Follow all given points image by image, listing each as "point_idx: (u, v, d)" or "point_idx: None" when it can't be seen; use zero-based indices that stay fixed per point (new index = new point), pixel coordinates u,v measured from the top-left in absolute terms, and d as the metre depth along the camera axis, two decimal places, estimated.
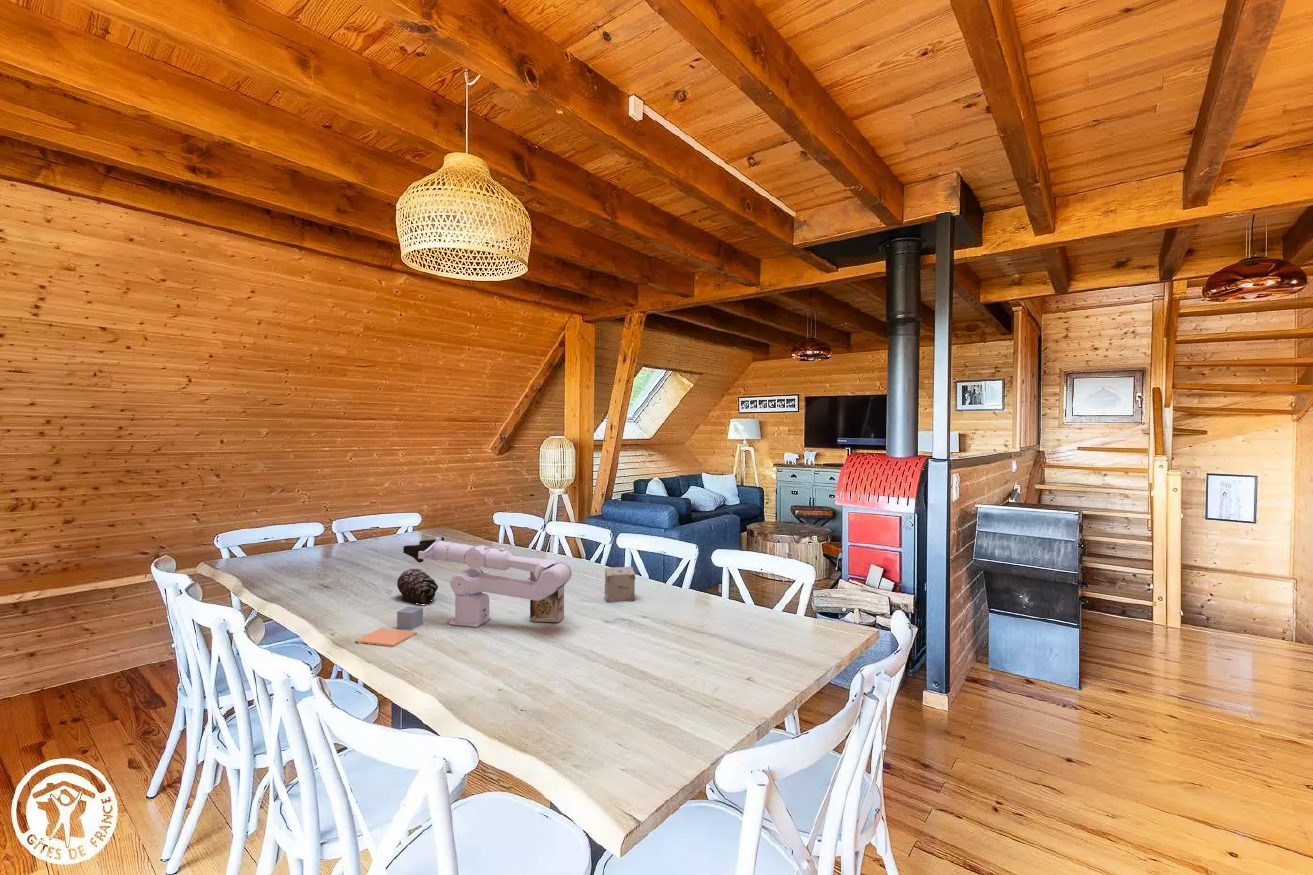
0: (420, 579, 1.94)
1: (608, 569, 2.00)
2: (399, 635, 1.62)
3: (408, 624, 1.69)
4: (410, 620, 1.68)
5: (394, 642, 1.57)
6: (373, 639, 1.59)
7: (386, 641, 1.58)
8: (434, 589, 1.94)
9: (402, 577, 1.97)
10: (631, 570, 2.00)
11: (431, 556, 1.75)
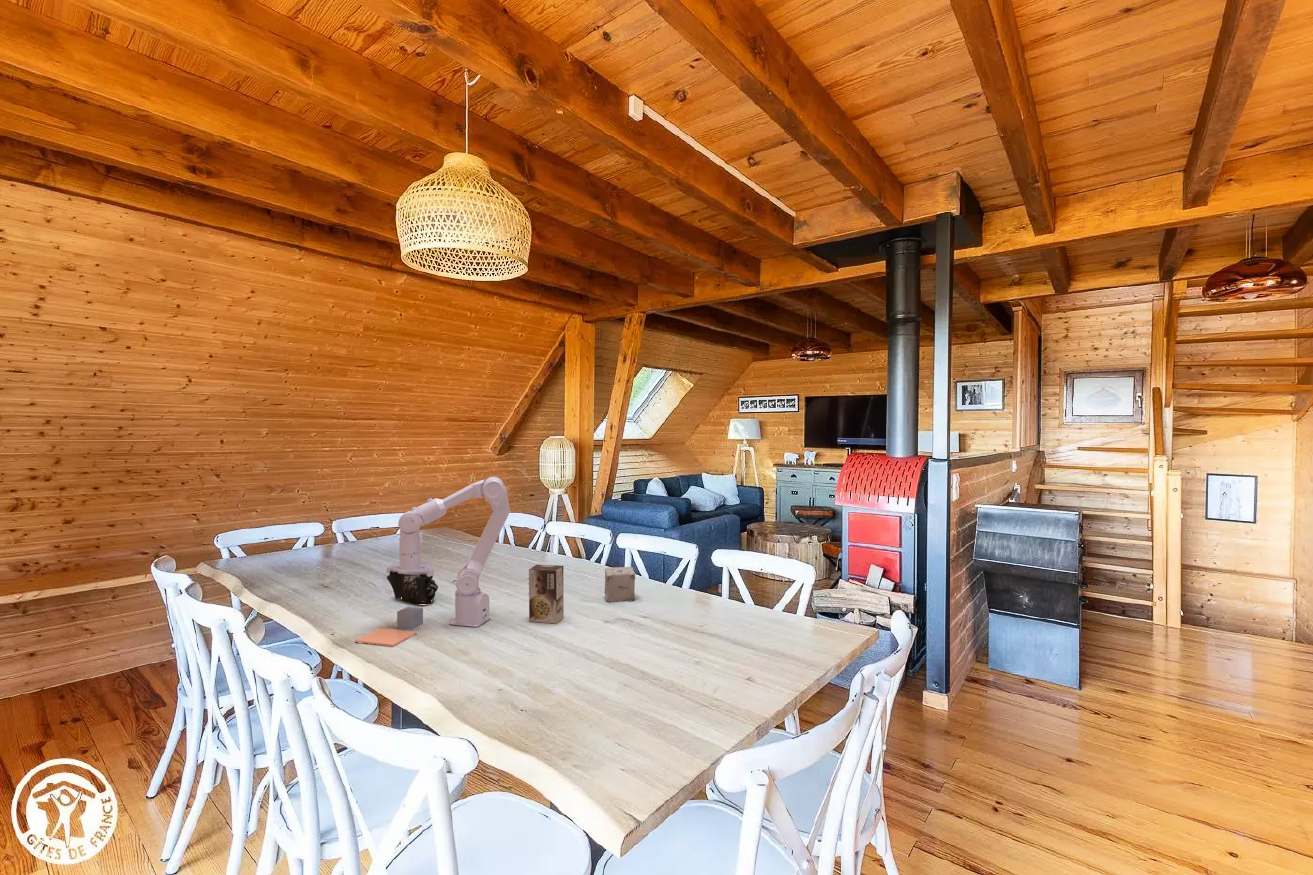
0: None
1: (608, 569, 2.00)
2: (399, 635, 1.62)
3: (408, 624, 1.69)
4: (410, 620, 1.68)
5: (394, 642, 1.57)
6: (373, 639, 1.59)
7: (386, 641, 1.58)
8: (434, 589, 1.93)
9: None
10: (631, 570, 2.00)
11: None
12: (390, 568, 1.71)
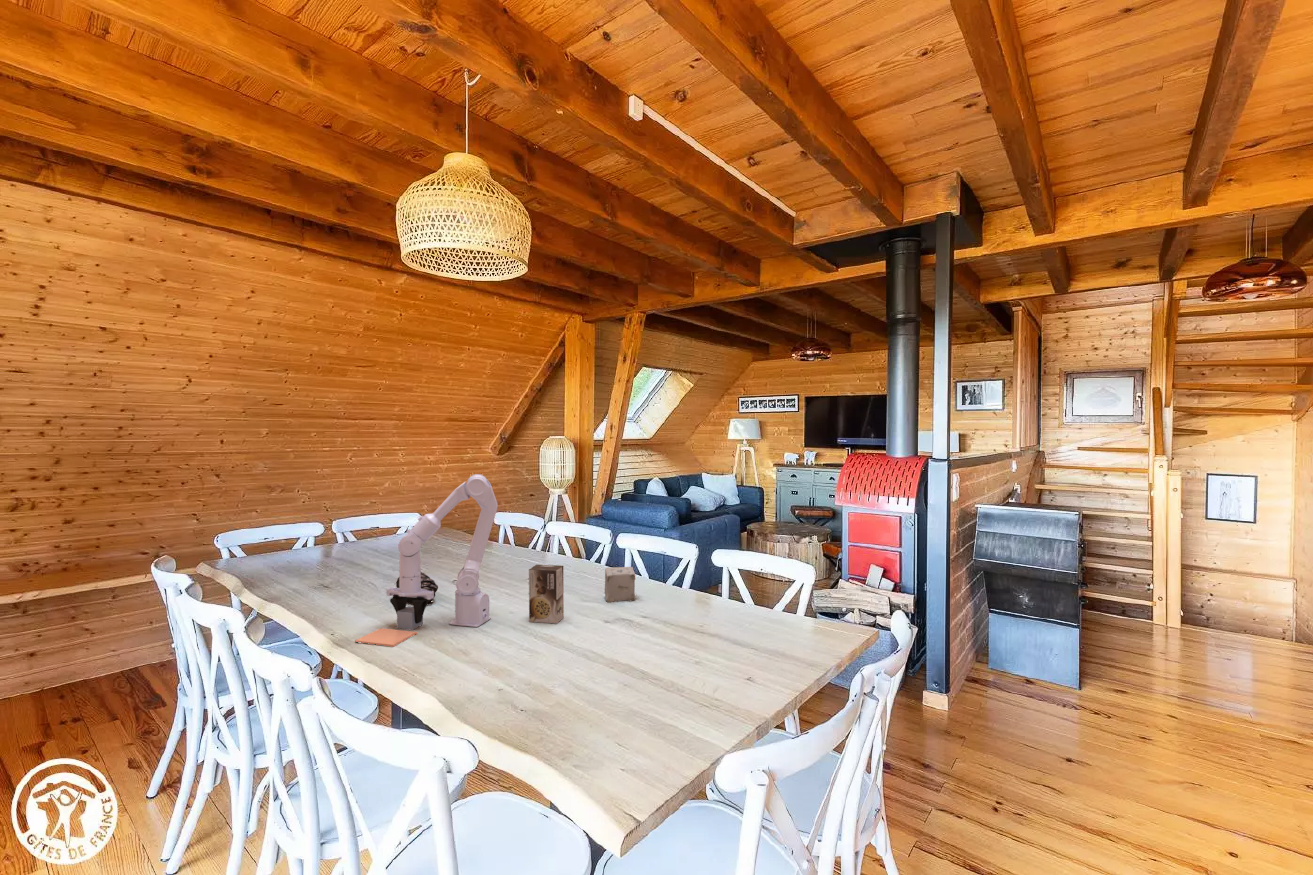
0: None
1: (608, 569, 2.00)
2: (399, 635, 1.62)
3: (408, 624, 1.69)
4: (410, 620, 1.68)
5: (394, 642, 1.57)
6: (373, 639, 1.59)
7: (386, 641, 1.58)
8: (434, 589, 1.93)
9: None
10: (631, 570, 2.00)
11: (421, 591, 1.72)
12: (390, 591, 1.71)
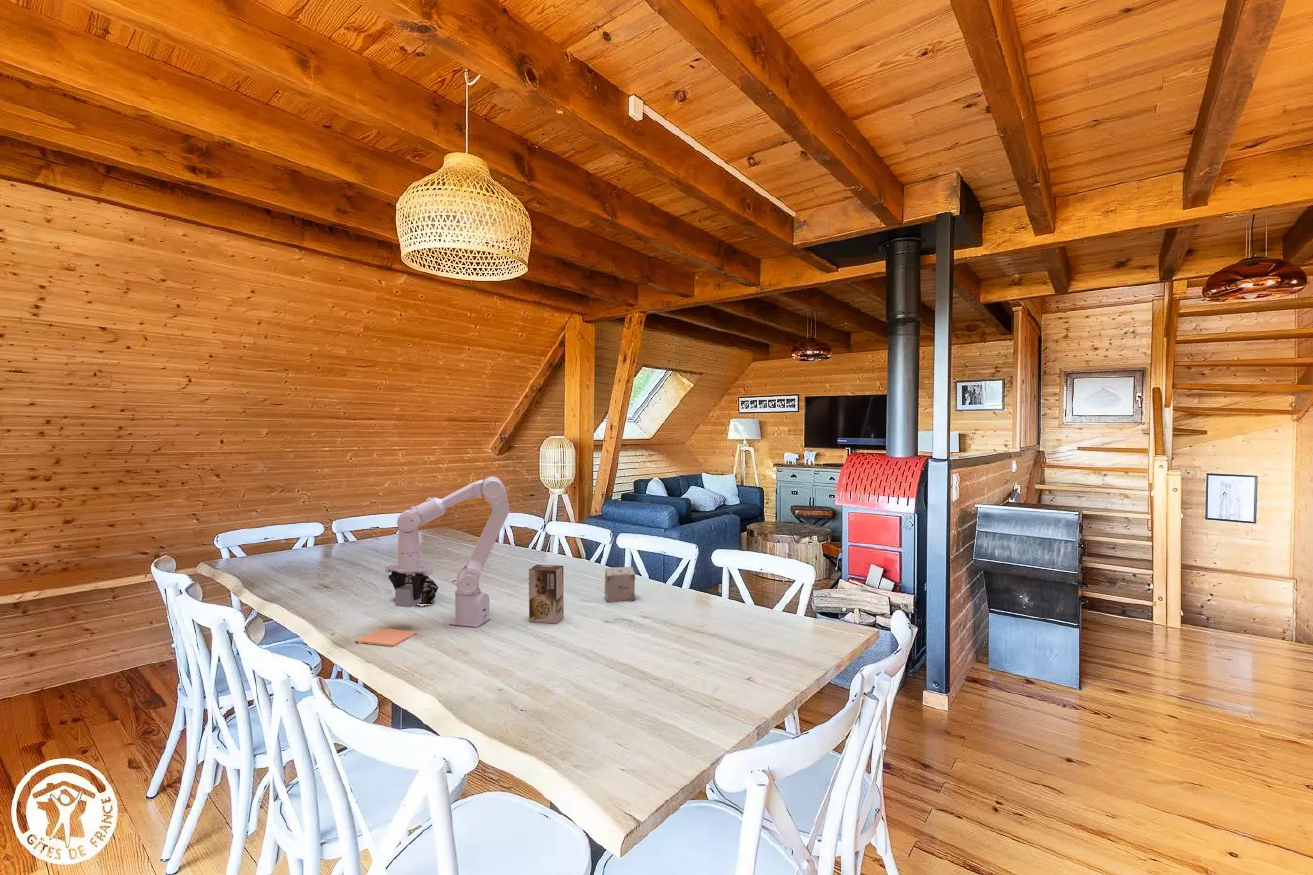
0: None
1: (608, 569, 2.00)
2: (399, 635, 1.62)
3: (406, 601, 1.68)
4: (408, 597, 1.68)
5: (394, 642, 1.57)
6: (373, 639, 1.59)
7: (386, 641, 1.58)
8: (435, 590, 1.93)
9: None
10: (631, 570, 2.00)
11: (420, 567, 1.71)
12: (389, 567, 1.71)
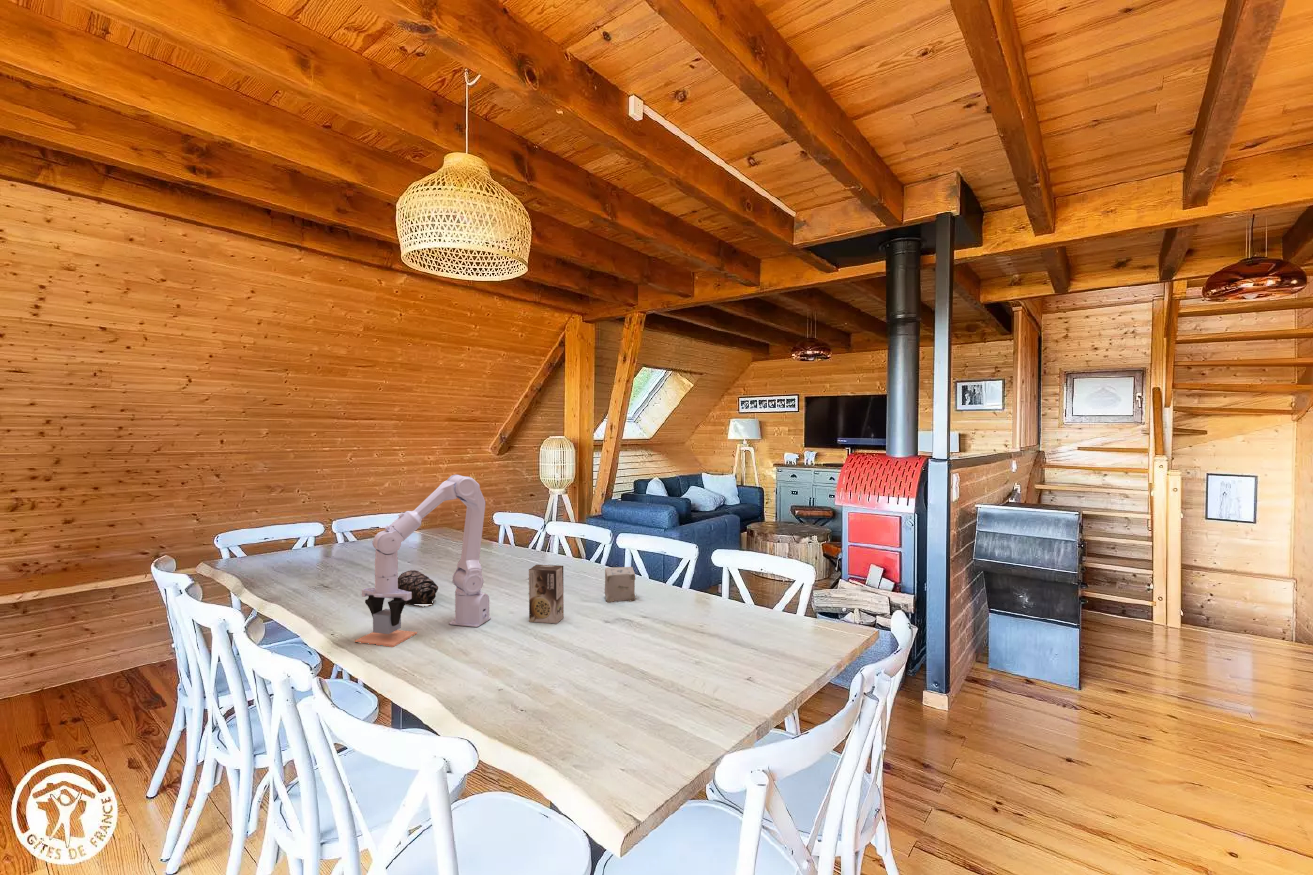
0: (420, 580, 1.93)
1: (608, 569, 2.00)
2: (399, 635, 1.62)
3: (384, 628, 1.59)
4: (387, 623, 1.59)
5: (394, 642, 1.57)
6: (373, 639, 1.59)
7: (386, 641, 1.58)
8: (435, 590, 1.93)
9: (401, 579, 1.94)
10: (631, 570, 2.00)
11: (398, 591, 1.62)
12: (365, 591, 1.62)
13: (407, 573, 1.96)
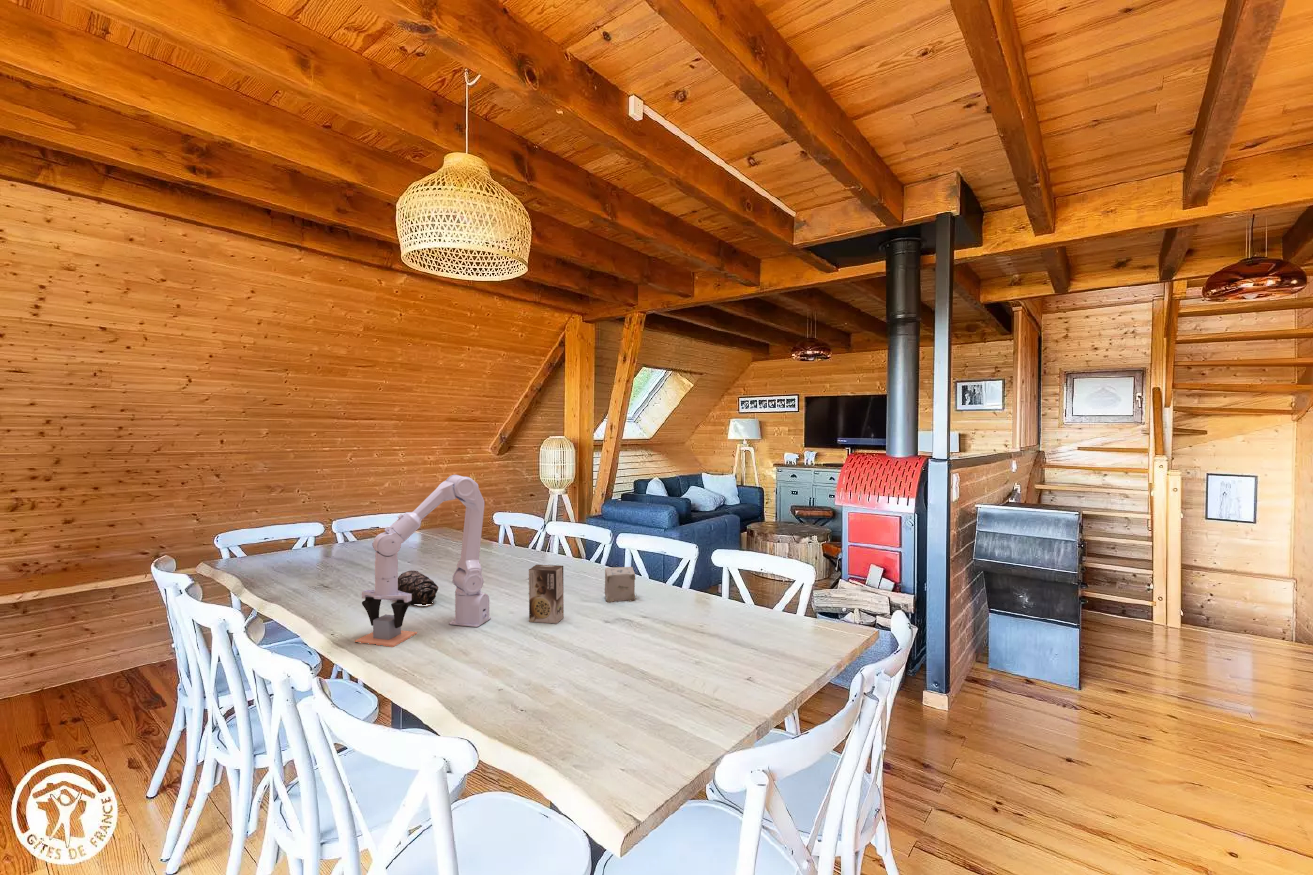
0: (421, 580, 1.92)
1: (608, 569, 2.00)
2: (399, 635, 1.62)
3: (385, 633, 1.59)
4: (387, 629, 1.59)
5: (394, 642, 1.57)
6: (373, 639, 1.59)
7: (386, 641, 1.58)
8: (435, 590, 1.92)
9: (401, 579, 1.94)
10: (631, 570, 2.00)
11: (398, 593, 1.62)
12: (365, 593, 1.62)
13: (407, 573, 1.95)
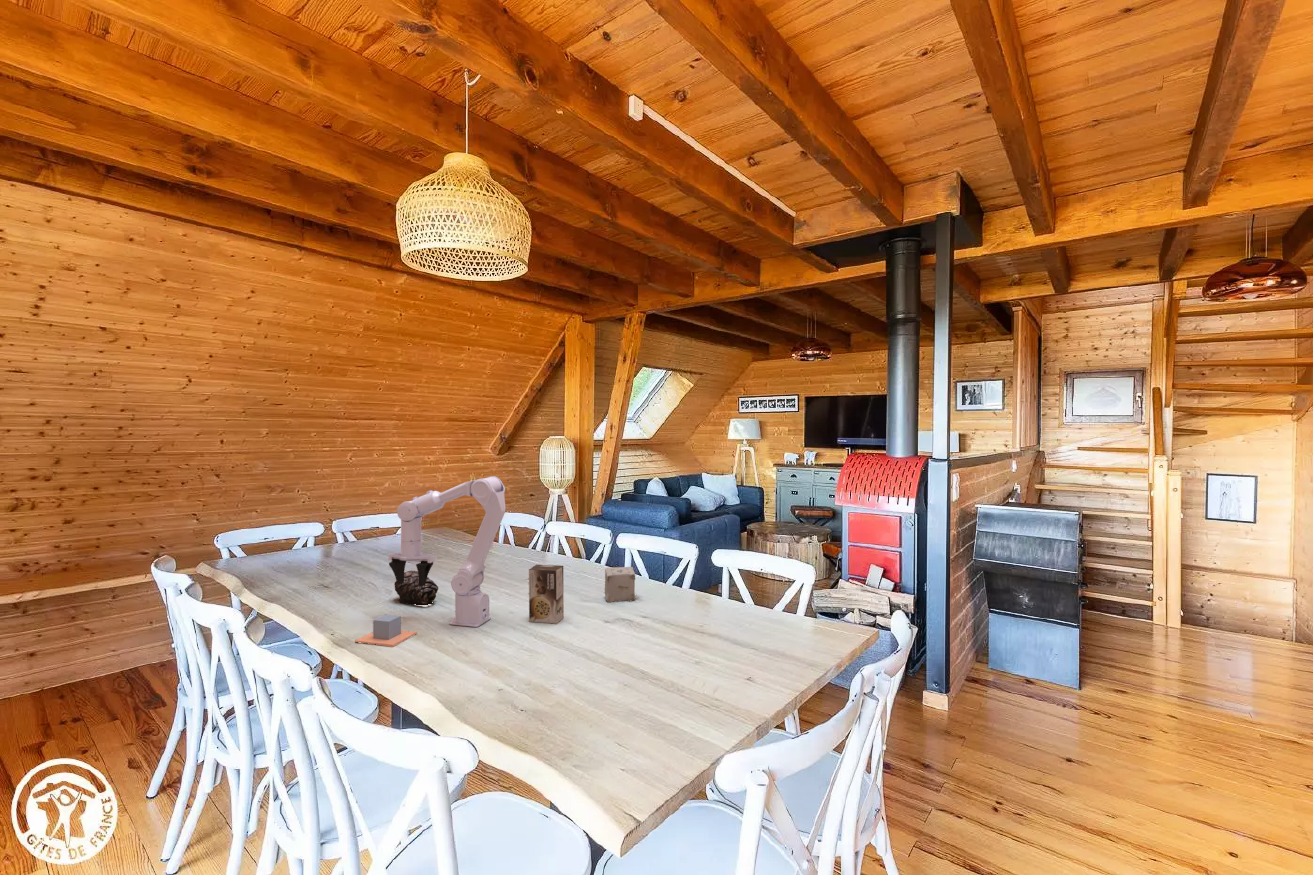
0: None
1: (608, 569, 2.00)
2: (399, 635, 1.62)
3: (385, 633, 1.59)
4: (387, 629, 1.59)
5: (394, 642, 1.57)
6: (373, 639, 1.59)
7: (386, 641, 1.58)
8: (435, 590, 1.92)
9: None
10: (631, 570, 2.00)
11: None
12: (392, 555, 1.78)
13: (407, 573, 1.95)
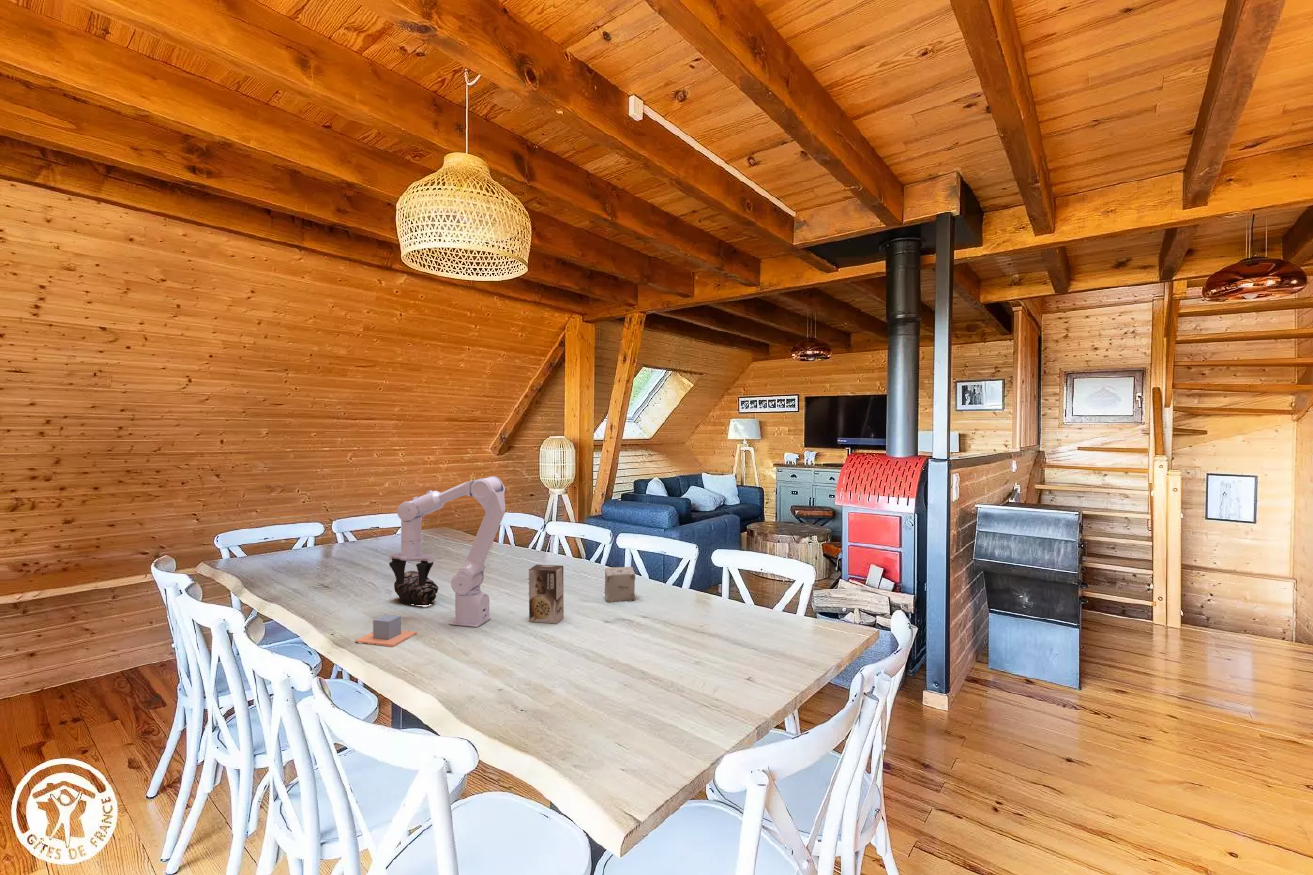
0: None
1: (608, 569, 2.00)
2: (399, 635, 1.62)
3: (385, 633, 1.59)
4: (387, 629, 1.59)
5: (394, 642, 1.57)
6: (373, 639, 1.59)
7: (386, 641, 1.58)
8: (436, 590, 1.92)
9: None
10: (631, 570, 2.00)
11: None
12: (392, 555, 1.78)
13: (406, 574, 1.95)
